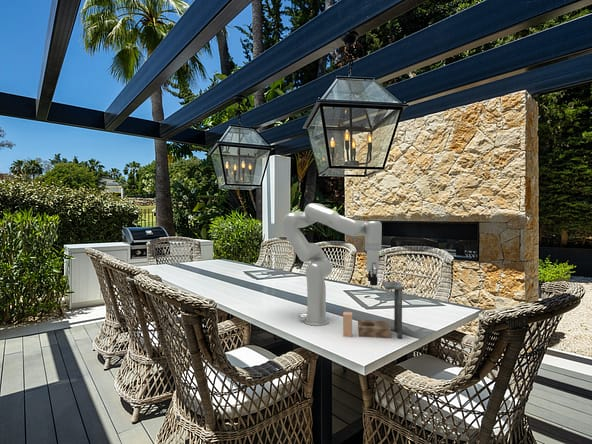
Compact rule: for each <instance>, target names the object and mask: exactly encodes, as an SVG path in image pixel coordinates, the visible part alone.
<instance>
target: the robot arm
mask: <svg viewBox="0 0 592 444" xmlns="http://www.w3.org/2000/svg"><path fill="white" fill-rule="evenodd" d="M315 223H320V224H322V225H324V226H327V227H329V228H331V229H333V230H335V231H337V232H339V233H342V234H344V235H347V236H351V237H361V236H364V238H365V239H364V243H365V244H364V250H365V251H366V261H365V262H366V265H365V269H366V271H367V272H368V273H367V281H368V282H369V285H370V286H372V287H373V286H374V287H375V286H378V272H379V268H380V267H379V266H380V265H379V262H380V258H379V257H380V252H381V251H382V234H383V232H382V231H383V230H382V229H383V228H382V227H383V226H382V222H381V221H379V220H377V221H376V220H369V221H366V220H358V219H357V220H355V219H352V218H349V217H345V216H343V215H340V214H339V213H338V211H336V210H334V209H332V208H329V207H326V206H325V205H324V204H322V203H316V202H315V203H314V202H311V203H307V204H306V206H305V208H304V211H301V212H299V211H295V212H294V211H293V212H288V213H286V214H285V216H283V218H282V221H281V229H282V232H283V235H284V237H285V238H286V239H287V242H288V243H289V244H290V245H291V247H292V249H293V251H294V253H295V254H296V255H297V257H298V259H299V260H300V261H301V262H304V263H307V262H310V263H308V265H307V266H306V268H305V278H306V289H307V290H306V292H307V293H306V294H307V296H306V297H307V298H306V301H307V302H306V303H307V304H306V305H307V306H306V307H307V312H305V313H301V312H300V313H299V312H298V313H299V314H298V317H299V318H300V319H304V320H303V321H304V322H303V323H304V324H306V325H308V326H314V327H322V326H326V325H328V324H329V322H330V321H329V319H328V318H327V317H326V316H327V315H326V314H327V312H326V311H327V310H326V309H327V308H326V305H327V302H326V301H327V300H326V299H327V298H326V296H327V294H326V293H327V292H326V291H327V290H326V289H327V287H326V282H325V278H327V277H329V276H330V275H331V274H332V271H333V266H332V263H331V261H330V260H329V258H328V256H327V255H326V253H325V252H324V251H323V249H322V248H321V246H320V245H318V244H317V243H314V242H309V241H308V240H307V238H306V237H305V235H304V234H303V233H302V232H301V231H300V229H301V228H302V229H303V228H306V227H309V226H311V225H313V224H315Z"/></svg>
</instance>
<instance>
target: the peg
mask: <svg viewBox="0 0 592 444" xmlns="http://www.w3.org/2000/svg"><path fill="white" fill-rule="evenodd" d="M342 325H343V327H342V330H343V331H342V334H343V335H342V337H344V338H346V337H348V338H353V312H350V311H349V312H348V311H344V312H343V313H342Z"/></svg>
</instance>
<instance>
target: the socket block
mask: <svg viewBox="0 0 592 444" xmlns="http://www.w3.org/2000/svg"><path fill="white" fill-rule="evenodd" d="M382 286H383V288H384V289H385V290H394V294H393V295H394V298H393V299H394V303H393V304H394V305H393V307H394V309H393V310H394V313H393V314H394V315H393V317H394V318H393V319H394V320H393V323H394V324H393V325H394V326H393V327H394V329H393V330H394V332H397V333H396V337H397V339H398V340H399V339H400V340H402V339H403V290H404V289H405V287H404V285H403V284H402V283H401V282H400V281H399V282H398V281H382ZM357 326H358V327H357V331H358V332H357V333H358V337H360V338H361V337H363V338H376V339H377V338H378V339H379V338H380V339H392V338H391V337H392V334H391V333H392V332H391V331H392V330H391V327H390V323H389V322H388V321H387V320H372V319H371V320H370V319H369V320H368V319H357Z"/></svg>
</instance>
